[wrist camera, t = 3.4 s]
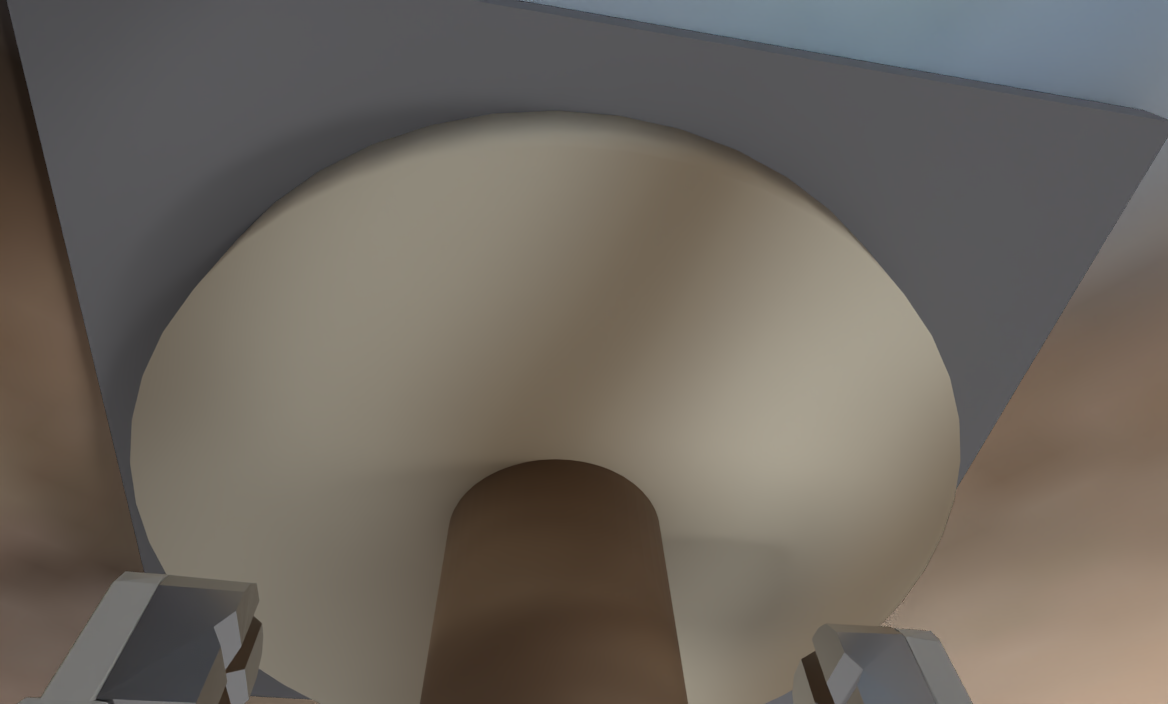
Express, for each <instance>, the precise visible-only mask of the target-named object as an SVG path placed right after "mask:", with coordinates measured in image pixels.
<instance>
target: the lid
mask: <svg viewBox="0 0 1168 704" xmlns="http://www.w3.org/2000/svg"><path fill="white" fill-rule="evenodd" d="M130 466H131V473H132V479H133V486H134V493H135V499H136V505H137V508H138V511H139V514H140V516H141V519H142V522H143V525H144V528H145V531H146V534H147V537H148V540H149V543H150V544H151V546H152V548H153V550H154V552H155V554H156V556H157V558H158V559H159V561H160V563H161V565H162V567H163V569H164V571H165V573H166V574H167V575H175V576H186V577H196V578H207V579H217V580H227V581H238V582H248V583H257V589H258V594H259V603H258V606H257V608H256V611H255V613H254V617H256V618H257V619H258V620H259V621H260V622H261V623H262V627H263V648H262V656H261V660H260V665H259V669H260V670H262V671H263V672H265V673H266V674H268V675H270V676H271V677H273V678H274V679H276V680H277V681H279V682H280V683H282V684H283V685H285V686H287V687H289V688H291V689H293V690H295V691H297V692H299V693H300V694H302V695H304V696H306V697H308V698H310V699H312V700H314V701H316V702H318V703H320V704H765V703H767V702H770V701H772V700H774V699H776V698H778V697H781V696H783V695H784V694H786V693H788V692H790V691H791V690H793V680H794V673H795V671H796V669H797V667H798V665H799V662H800V660H801V659H802V658H804V657H805V656H807V655H809V654H811V653H812V652H814V651H815V648H814V645H813V642H812V638H813V636H814V634H815V632H816V631H817V629H818V627H820V626H822V625H824V624H826V623H829V624H847V625H864V626H880V625H881V624H882V623H883V622H884V621H885V620H886V619H887V618H888V616H889V615H890V614H891V613H892V612H893V611H894V610H895V609H896V608H897V607H898V606H899V605H900V603H901V602H902V601H903V600H904V598H905V597H906V596H907V594H908V593H909V591H910V590H911V589H912V587H913V586H914V584H915V583H916V582H917V580H918V579H919V577H920V576H921V575H922V573H923V572H924V570H925V568H926V567H927V565H928V563H929V561H930V559H931V557H932V555H933V553H934V551H935V549H936V547H937V545H938V543H939V541H940V540H941V538H942V535H943V532H944V529H945V526H946V523H947V520H948V517H949V514H950V511H951V508H952V505H953V502H954V499H955V493H956V486H957V480H958V473H959V467H960V427H959V416H958V412H957V407H956V403H955V398H954V393H953V389H952V384H951V380H950V377H949V374H948V372H947V370H946V367H945V365H944V363H943V360H942V358H941V356H940V353H939V351H938V349H937V346H936V344H935V342H934V339H933V337H932V335H931V334H930V332H929V331H928V329H927V328H926V326H925V325H924V323H923V322H922V320H921V319H920V317H919V316H918V314H917V313H916V311H915V310H914V308H913V307H912V305H911V304H910V302H909V301H908V299H907V298H906V296H905V295H904V293H903V292H902V291H901V290H900V289H899V287H898V286H897V285H896V284H895V283H894V281H893V280H892V279H891V278H890V277H889V275H888V274H887V273H886V272H885V271H884V269H883V268H882V267H881V266H880V265H879V263H878V262H877V261H876V260H875V259H874V257H873V256H872V255H871V254H870V253H869V251H868V250H867V249H866V248H865V247H864V245H863V244H862V243H861V242H860V241H859V240H858V239H857V238H856V237H855V236H854V235H853V234H852V233H851V232H850V231H849V230H848V229H847V228H846V227H845V226H844V224H843V223H842V222H841V221H840V220H839V219H838V218H837V217H836V216H835V215H834V214H833V213H832V212H831V211H830V210H829V209H828V208H827V207H825V206H824V205H823V204H821V203H820V202H819V201H817V200H816V199H815V198H813V197H812V196H811V195H809V194H808V193H807V192H806V191H804V190H803V189H802V188H800V187H799V186H798V185H796V184H795V183H794V182H792V181H791V180H790V179H788V178H787V177H785V176H783V175H782V174H780V173H778V172H776V171H774V170H772V169H771V168H769V167H767V166H765V165H763V164H761V163H760V162H758V161H756V160H754V159H752V158H751V157H749V156H747V155H745V154H743V153H741V152H740V151H738V150H735V149H732V148H730V147H727V146H724V145H722V144H719V143H716V142H714V141H711V140H708V139H706V138H703V137H700V136H698V135H695V134H692V133H690V132H687V131H684V130H681V129H677V128H673V127H668V126H664V125H659V124H655V123H650V122H646V121H641V120H637V119H632V118H628V117H623V116H615V115H604V114H592V113H580V112H568V111H538V112H517V113H497V114H488V115H483V116H478V117H472V118H467V119H461V120H456V121H451V122H445V123H440V124H434V125H430V126H427V127H424V128H421V129H418V130H415V131H412V132H409V133H406V134H403V135H400V136H397V137H394V138H390V139H387V140H384V141H381V142H378V143H375V144H372V145H370V146H368V147H366V148H364V149H362V150H360V151H358V152H356V153H354V154H352V155H350V156H348V157H346V158H344V159H342V160H340V161H338V162H336V163H334V164H332V165H330V166H328V167H326V168H324V169H322V170H320V171H319V172H317V173H316V174H314V175H313V176H312V177H310V178H309V179H307V180H306V181H305V182H303V183H302V184H300V185H299V186H298V187H296V188H295V189H293V190H292V191H290V192H289V193H288V194H286V195H285V196H283V197H282V198H281V199H279V200H278V201H276V202H275V203H274V204H273V205H272V206H271V207H270V208H269V209H268V210H267V211H266V212H265V213H263V214H262V215H261V216H260V217H259V218H258V219H257V220H256V221H255V222H254V223H253V224H252V225H251V226H250V227H249V228H248V229H247V230H246V231H245V232H244V233H243V234H242V235H241V236H240V237H239V238H238V239H237V240H236V241H235V242H234V244H233V245H232V246H231V247H230V248H229V249H228V250H227V252H226V253H225V254H224V255H223V256H222V257H221V258H220V260H219V261H218V262H217V263H216V264H215V265H214V266H213V268H212V269H211V270H210V271H209V272H208V273H207V274H206V276H205V277H204V278H203V279H202V280H201V281H200V282H199V284H198V285H197V286H196V287H195V288H194V289H193V291H192V292H191V293H190V295H189V296H188V298H187V299H186V300H185V302H184V303H183V305H182V306H181V307H180V309H179V310H178V312H177V313H176V314H175V316H174V317H173V319H172V320H171V321H170V323H169V324H168V326H167V327H166V328H165V330H164V331H163V333H162V335H161V337H160V339H159V341H158V344H157V346H156V348H155V350H154V352H153V354H152V357H151V359H150V361H149V363H148V365H147V367H146V370H145V372H144V374H143V376H142V380H141V384H140V388H139V392H138V397H137V401H136V405H135V409H134V413H133V417H132V427H131V451H130Z"/></svg>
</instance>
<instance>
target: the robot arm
mask: <svg viewBox="0 0 1168 704" xmlns="http://www.w3.org/2000/svg"><path fill="white" fill-rule="evenodd" d="M258 603H259V594H258V589H257V583H248V582H238V581H227V580H217V579H207V578H196V577H186V576H175V575H166V574H153V573H141V572H128V571H125V572H124V573H123V574H122V575H121V576H119V577H118V578H117V579H116V580H115V581H114V582H113V583H112V584H111V585H110V587H109V589H108V590H107V592H106V593H105V595H104V597H103V598H102V600H101V601H100V603H99V605H98V606H97V608H96V609H95V611H94V613H93V614H92V616H91V617H90V619H89V621H88V622H87V624H86V625H85V627H84V629H83V630H82V632H81V633H80V635H79V637H78V638H77V640H76V641H75V643H74V645H73V646H72V648H71V649H70V651H69V652H68V654H67V656H66V657H65V659H64V660H63V662H62V664H61V665H60V667H59V668H58V670H57V672H56V673H55V675H54V676H53V678H52V680H51V681H50V683H49V684H48V686H47V688H46V689H45V691H44V692H43V694H42V696H41V697H26V698H24V699H23V700H21V701H20V702H18V703H17V704H244V703H246V702H247V701H248V700H249V698H250V695H251V692H252V689H253V686H254V684H255V681H256V678H257V674H258V669H259V665H260V660H261V656H262V648H263V627H262V623H261V622H260V621H259V620H258V619H257V618H256V617H254V613H255V611H256V608H257V606H258ZM812 642H813V645H814V648H815V651H814V652H812V653H811V654H809V655H807V656H805V657H804V658H802V659H801V660H800V662H799V665H798V667H797V669H796V671H795V673H794V680H793V691H792V696H793V704H973V703H972V701H971V699H970V697H969V695H968V693H967V692H966V690H965V688H964V686H963V684H962V682H961V680H960V678H959V676H958V674H957V672H956V670H955V669H954V667H953V665H952V663H951V661H950V659H949V657H948V655H947V653H946V651H945V649H944V648H943V646H942V644H941V642H940V640H939V639H938V638H937V637H936V636H935V635H934V634H933V633H932V632H931V631H926V630H914V629H896V628H894V629H893V628H891V627H882V626H864V625H847V624H829V623H826V624H824V625H822V626H820V627H818V629H817V631H816V632H815V634H814V636H813V638H812Z"/></svg>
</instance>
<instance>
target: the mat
mask: <svg viewBox="0 0 1168 704" xmlns="http://www.w3.org/2000/svg"><path fill="white" fill-rule="evenodd" d="M7 4H8V8H9V12H10V17H11V21H12V25H13V29H14V33H15V37H16V41H17V46H18V50H19V54H20V58H21V62H22V66H23V71H24V75H25V79H26V83H27V87H28V91H29V95H30V100H31V104H32V108H33V112H34V116H35V120H36V125H37V129H38V133H39V137H40V141H41V145H42V149H43V154H44V158H45V162H46V166H47V170H48V174H49V179H50V183H51V187H52V191H53V195H54V199H55V203H56V208H57V212H58V216H59V220H60V224H61V228H62V232H63V237H64V241H65V245H66V249H67V253H68V257H69V262H70V266H71V270H72V274H73V278H74V282H75V286H76V291H77V295H78V299H79V303H80V307H81V311H82V316H83V320H84V324H85V328H86V332H87V336H88V340H89V345H90V349H91V353H92V357H93V361H94V365H95V370H96V374H97V378H98V382H99V386H100V390H101V394H102V399H103V403H104V407H105V411H106V415H107V419H108V423H109V428H110V432H111V436H112V440H113V444H114V448H115V453H116V457H117V461H118V465H119V469H120V473H121V477H122V482H123V486H124V490H125V494H126V498H127V502H128V507H129V511H130V515H131V519H132V523H133V527H134V531H135V536H136V540H137V544H138V548H139V552H140V556H141V561H142V565H143V569H144V573H153V574H166V573H165V571H164V569H163V567H162V565H161V563H160V561H159V559H158V558H157V556H156V554H155V552H154V550H153V548H152V546H151V544H150V543H149V540H148V537H147V534H146V531H145V528H144V525H143V522H142V519H141V516H140V514H139V511H138V508H137V505H136V499H135V493H134V486H133V479H132V473H131V466H130V451H131V427H132V417H133V413H134V409H135V405H136V401H137V397H138V392H139V388H140V384H141V380H142V376H143V374H144V372H145V370H146V367H147V365H148V363H149V361H150V359H151V357H152V354H153V352H154V350H155V348H156V346H157V344H158V341H159V339H160V337H161V335H162V333H163V331H164V330H165V328H166V327H167V326H168V324H169V323H170V321H171V320H172V319H173V317H174V316H175V314H176V313H177V312H178V310H179V309H180V307H181V306H182V305H183V303H184V302H185V300H186V299H187V298H188V296H189V295H190V293H191V292H192V291H193V289H194V288H195V287H196V286H197V285H198V284H199V282H200V281H201V280H202V279H203V278H204V277H205V276H206V274H207V273H208V272H209V271H210V270H211V269H212V268H213V266H214V265H215V264H216V263H217V262H218V261H219V260H220V258H221V257H222V256H223V255H224V254H225V253H226V252H227V250H228V249H229V248H230V247H231V246H232V245H233V244H234V242H235V241H236V240H237V239H238V238H239V237H240V236H241V235H242V234H243V233H244V232H245V231H246V230H247V229H248V228H249V227H250V226H251V225H252V224H253V223H254V222H255V221H256V220H257V219H258V218H259V217H260V216H261V215H262V214H263V213H265V212H266V211H267V210H268V209H269V208H270V207H271V206H272V205H273V204H274V203H275V202H276V201H278V200H279V199H281V198H282V197H283V196H285V195H286V194H288V193H289V192H290V191H292V190H293V189H295V188H296V187H298V186H299V185H300V184H302V183H303V182H305V181H306V180H307V179H309V178H310V177H312V176H313V175H314V174H316V173H317V172H319V171H320V170H322V169H324V168H326V167H328V166H330V165H332V164H334V163H336V162H338V161H340V160H342V159H344V158H346V157H348V156H350V155H352V154H354V153H356V152H358V151H360V150H362V149H364V148H366V147H368V146H370V145H372V144H375V143H378V142H381V141H384V140H387V139H390V138H394V137H397V136H400V135H403V134H406V133H409V132H412V131H415V130H418V129H421V128H424V127H427V126H430V125H434V124H440V123H445V122H451V121H456V120H461V119H467V118H472V117H478V116H483V115H488V114H497V113H517V112H538V111H568V112H580V113H592V114H604V115H615V116H623V117H628V118H632V119H637V120H641V121H646V122H650V123H655V124H659V125H664V126H668V127H673V128H677V129H681V130H684V131H687V132H690V133H692V134H695V135H698V136H700V137H703V138H706V139H708V140H711V141H714V142H716V143H719V144H722V145H724V146H727V147H730V148H732V149H735V150H738V151H740V152H741V153H743V154H745V155H747V156H749V157H751V158H752V159H754V160H756V161H758V162H760V163H761V164H763V165H765V166H767V167H769V168H771V169H772V170H774V171H776V172H778V173H780V174H782V175H783V176H785V177H787V178H788V179H790V180H791V181H792V182H794V183H795V184H796V185H798V186H799V187H800V188H802V189H803V190H804V191H806V192H807V193H808V194H809V195H811V196H812V197H813V198H815V199H816V200H817V201H819V202H820V203H821V204H823V205H824V206H825V207H827V208H828V209H829V210H830V211H831V212H832V213H833V214H834V215H835V216H836V217H837V218H838V219H839V220H840V221H841V222H842V223H843V224H844V226H845V227H846V228H847V229H848V230H849V231H850V232H851V233H852V234H853V235H854V236H855V237H856V238H857V239H858V240H859V241H860V242H861V243H862V244H863V245H864V247H865V248H866V249H867V250H868V251H869V253H870V254H871V255H872V256H873V257H874V259H875V260H876V261H877V262H878V263H879V265H880V266H881V267H882V268H883V269H884V271H885V272H886V273H887V274H888V275H889V277H890V278H891V279H892V280H893V281H894V283H895V284H896V285H897V286H898V287H899V289H900V290H901V291H902V292H903V293H904V295H905V296H906V298H907V299H908V301H909V302H910V304H911V305H912V307H913V308H914V310H915V311H916V313H917V314H918V316H919V317H920V319H921V320H922V322H923V323H924V325H925V326H926V328H927V329H928V331H929V332H930V334H931V335H932V337H933V339H934V342H935V344H936V346H937V349H938V351H939V353H940V356H941V358H942V360H943V363H944V365H945V367H946V370H947V372H948V374H949V377H950V380H951V384H952V389H953V393H954V398H955V403H956V407H957V412H958V416H959V427H960V467H959V473H958V480H957V486H956V489H957V487H958V485H959V484H960V482H961V480H962V479H963V477H964V475H965V474H966V472H967V470H968V469H969V467H970V465H971V464H972V462H973V460H974V459H975V457H976V455H977V454H978V452H979V450H980V449H981V447H982V445H983V444H984V442H985V440H986V439H987V437H988V435H989V434H990V432H991V430H992V429H993V427H994V425H995V424H996V422H997V420H998V419H999V417H1000V415H1001V414H1002V412H1003V410H1004V409H1005V407H1006V405H1007V404H1008V402H1009V400H1010V399H1011V397H1012V395H1013V394H1014V392H1015V390H1016V389H1017V387H1018V385H1019V384H1020V382H1021V380H1022V379H1023V377H1024V375H1025V374H1026V372H1027V370H1028V369H1029V367H1030V365H1031V364H1032V362H1033V360H1034V359H1035V357H1036V355H1037V354H1038V352H1039V350H1040V349H1041V347H1042V345H1043V344H1044V342H1045V340H1046V339H1047V337H1048V335H1049V334H1050V332H1051V330H1052V329H1053V327H1054V325H1055V324H1056V322H1057V320H1058V319H1059V317H1060V315H1061V314H1062V312H1063V310H1064V309H1065V307H1066V305H1067V304H1068V302H1069V300H1070V299H1071V297H1072V295H1073V294H1074V292H1075V290H1076V289H1077V287H1078V285H1079V284H1080V282H1081V280H1082V279H1083V277H1084V275H1085V274H1086V272H1087V270H1088V269H1089V267H1090V265H1091V264H1092V262H1093V260H1094V259H1095V257H1096V255H1097V254H1098V252H1099V250H1100V249H1101V247H1102V245H1103V244H1104V242H1105V240H1106V239H1107V237H1108V235H1109V234H1110V232H1111V230H1112V229H1113V227H1114V225H1115V224H1116V222H1117V220H1118V219H1119V217H1120V215H1121V214H1122V212H1123V210H1124V209H1125V207H1126V205H1127V204H1128V202H1129V200H1130V199H1131V197H1132V195H1133V194H1134V192H1135V190H1136V189H1137V187H1138V185H1139V184H1140V182H1141V180H1142V179H1143V177H1144V175H1145V174H1146V172H1147V170H1148V169H1149V167H1150V166H1151V164H1152V162H1153V161H1154V159H1155V157H1156V156H1157V154H1158V152H1159V151H1160V149H1161V147H1162V146H1163V144H1164V142H1165V141H1166V139H1167V137H1168V120H1167V119H1165V118H1162V117H1160V116H1157V115H1155V114H1152V113H1149V112H1147V111H1144V110H1139V109H1134V108H1128V107H1122V106H1116V105H1111V104H1105V103H1099V102H1094V101H1088V100H1082V99H1077V98H1071V97H1065V96H1059V95H1054V94H1048V93H1042V92H1037V91H1031V90H1025V89H1020V88H1014V87H1008V86H1002V85H997V84H991V83H985V82H980V81H974V80H968V79H963V78H957V77H951V76H945V75H940V74H934V73H928V72H923V71H917V70H911V69H906V68H900V67H894V66H888V65H883V64H877V63H871V62H866V61H860V60H854V59H849V58H843V57H837V56H831V55H826V54H820V53H814V52H809V51H803V50H797V49H792V48H786V47H780V46H775V45H769V44H763V43H757V42H752V41H746V40H740V39H735V38H729V37H723V36H718V35H712V34H706V33H700V32H695V31H689V30H683V29H678V28H672V27H666V26H661V25H655V24H649V23H643V22H638V21H632V20H626V19H621V18H615V17H609V16H604V15H598V14H592V13H586V12H581V11H575V10H569V9H564V8H558V7H552V6H547V5H541V4H535V3H529V2H524V1H518V0H7ZM166 575H167V574H166ZM792 691H793V690H791V691H790V692H788V693H786V694H784V695H783V696H781V697H778V698H776V699H774V700H772V701H770V702H767V703H765V704H793V696H792ZM250 696H258V697H276V698H293V699H310V698H308V697H306V696H304V695H302V694H300V693H299V692H297V691H295V690H293V689H291V688H289V687H287V686H285V685H283V684H282V683H280V682H279V681H277V680H276V679H274V678H273V677H271V676H270V675H268V674H266V673H265V672H263V671H262V670H260V669H258V674H257V678H256V681H255V684H254V686H253V689H252V692H251V695H250ZM310 700H312V699H310Z"/></svg>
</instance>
